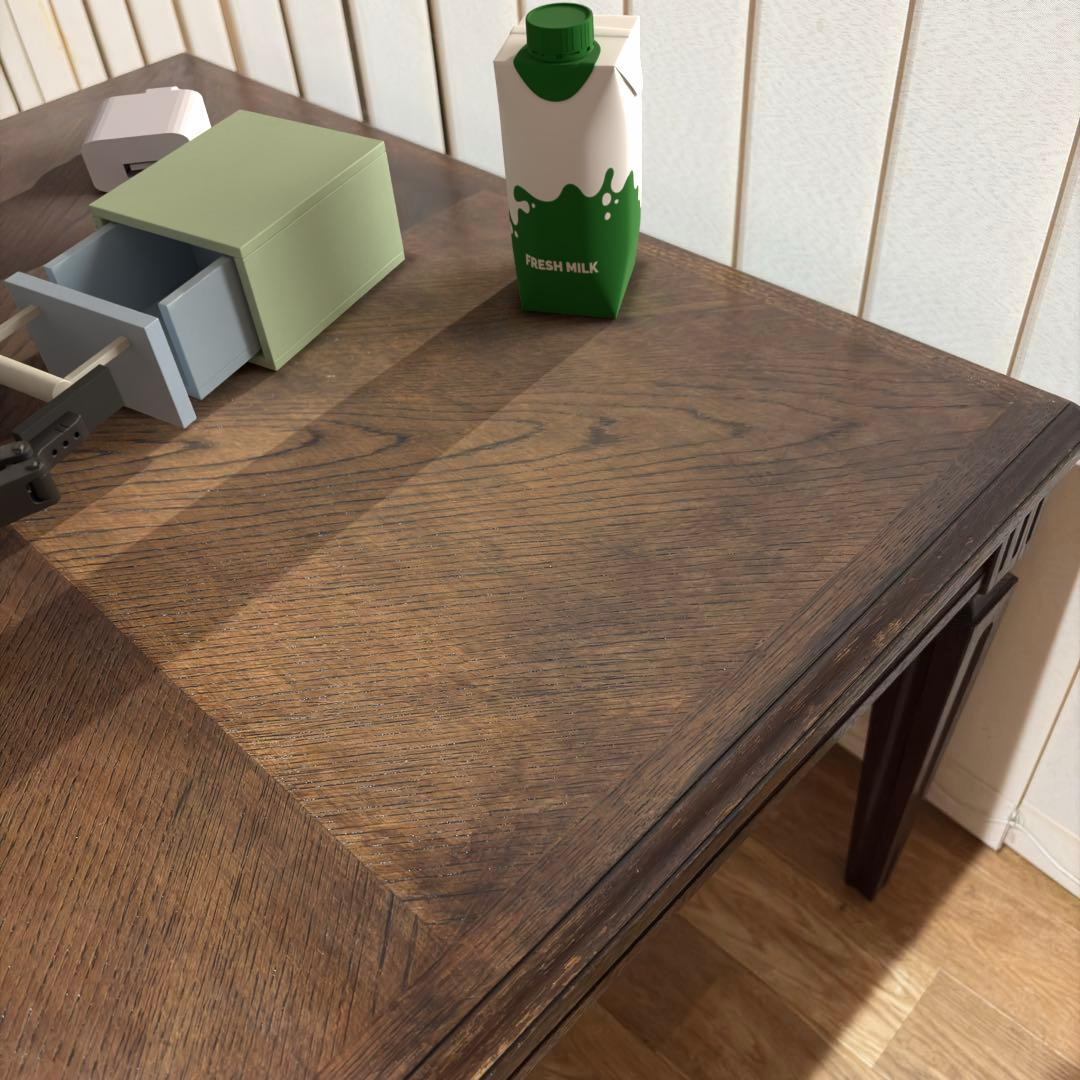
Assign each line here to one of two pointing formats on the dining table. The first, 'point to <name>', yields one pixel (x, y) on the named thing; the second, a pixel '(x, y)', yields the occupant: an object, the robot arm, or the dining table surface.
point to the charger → (140, 132)
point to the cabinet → (274, 218)
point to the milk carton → (572, 156)
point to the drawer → (133, 321)
